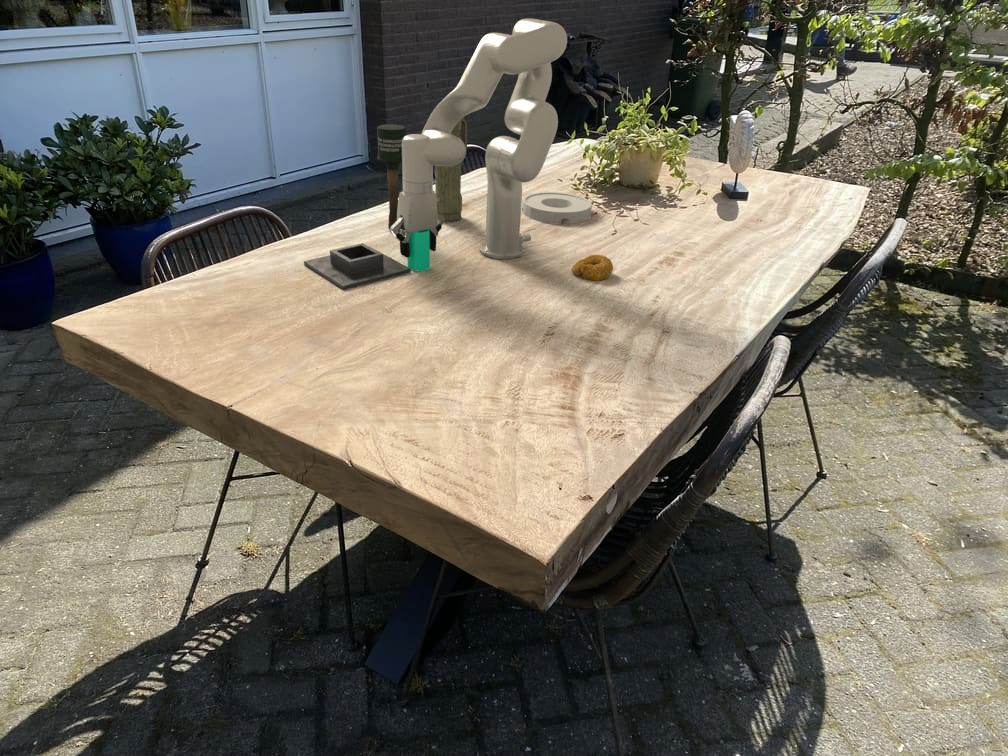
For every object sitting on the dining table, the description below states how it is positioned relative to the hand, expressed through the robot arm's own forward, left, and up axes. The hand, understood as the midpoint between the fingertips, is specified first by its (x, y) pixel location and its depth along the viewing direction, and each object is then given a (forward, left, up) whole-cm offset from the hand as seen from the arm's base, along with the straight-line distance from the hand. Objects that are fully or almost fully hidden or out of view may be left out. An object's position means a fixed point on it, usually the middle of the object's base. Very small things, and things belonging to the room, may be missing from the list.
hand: (418, 252), depth 186 cm
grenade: (-11, -28, -4) cm, 30 cm away
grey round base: (-66, -14, -5) cm, 68 cm away
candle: (0, 0, -4) cm, 4 cm away
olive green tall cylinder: (-32, -29, -4) cm, 43 cm away
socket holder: (+14, -8, -4) cm, 17 cm away
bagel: (-35, +30, -4) cm, 47 cm away
